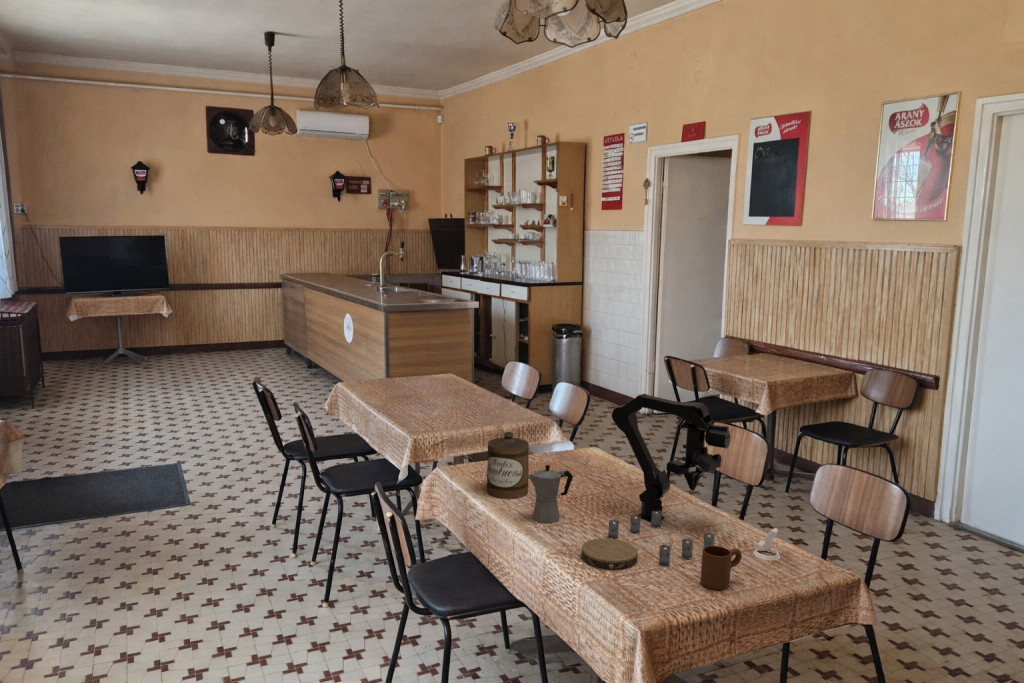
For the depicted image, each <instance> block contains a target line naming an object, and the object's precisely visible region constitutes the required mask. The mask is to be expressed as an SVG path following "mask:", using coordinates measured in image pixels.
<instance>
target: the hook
mask: <svg viewBox="0 0 1024 683" xmlns="http://www.w3.org/2000/svg"><path fill="white" fill-rule="evenodd" d="M778 533H779V530H778V528H777V527H775V528H773V529H770V531H769V532H768V534H767V535H766V536H765V538H764V539H763V540H761V541H759V542H758V543H757V548H755V550H754V551H753V553H752V555H753V554H754V555H755V556H756V557H758V558H761V559H764V560H770V561H771V560H778V559H780V560H781V556H780V553H779V552H778V550H776V549H773V548H772V542H773V540H774V538H776V536H777V534H778ZM761 550H763V551H768V552H767V553H769V552H772V553H774V554H773V555H766V554H762V553H761V552H757V551H761ZM772 553H771V554H772ZM775 554H776V555H775Z"/></svg>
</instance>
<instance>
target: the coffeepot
mask: <svg viewBox="0 0 1024 683" xmlns="http://www.w3.org/2000/svg"><path fill="white" fill-rule="evenodd" d="M544 467H545V469H540V470H536V471H534V472H533V473H532V474H531V473H530V474H529V476H528V478H529V479H530V481H531V482H532V485H533V487H534V491H535V495H536V496H535V502H534V508H533V514H532V520H533V521H534V520H535V521H534V522H536V521H537V522H536V523H539V522H540V524H547V523H548V524H554V523H553V522H555V523H557V522H559V521H560V511H559V505H558V504H559V503H558V499H557V498H558V497H557V496H558V494H559V488H560V483H561V478H562V479H563V478H565V477H567V479H566V481H565V482H566V483H565V486H564V489H563V492H560V494H559V495H560V496H562V497H563V496H567V495H568V493H569V490H570V486H571V483H572V480H573V474H572V473H571V472H570V471H569V470H559V471H556V470H554V469H553V470H551V469H550V468H551V465H549V464H546V465H545V466H544ZM556 521H557V522H556Z"/></svg>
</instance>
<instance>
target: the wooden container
mask: <svg viewBox="0 0 1024 683" xmlns="http://www.w3.org/2000/svg"><path fill="white" fill-rule="evenodd" d="M529 446H530V445H529V442H528V441H527V440H525V439H523V438H517V437H514V433H512V432H511V431H506V432H504V434H503V437H498V438H497V437H496V438H493V439H490V440H489V441H488V442H487V466H486V468H487V472H486V492H488V493H489V494H488V493H487V494H488V495H489V496H491V495H492V497H494V496H495V497H494V498H498V497H499V498H498V499H505V498H512V499H519V498H522V497H525V496H527V495H528V493H529V478H528V476H529V475H530V474H529V472H530V471H529V468H530V467H529V466H530V465H529V459H530V458H529V457H530V454H529V451H530V450H529Z"/></svg>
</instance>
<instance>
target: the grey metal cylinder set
mask: <svg viewBox="0 0 1024 683" xmlns="http://www.w3.org/2000/svg"><path fill="white" fill-rule="evenodd" d="M641 519H642V518H641V516H639V515H638V514H631V515H630V527H629V528H630V529H629V532H630V533H631V532H632V533H631V534H640V533H639V532H641ZM650 523H651V524H650V526H651V527H652V528H654V527H655V528H654V529H658V528H657V527H660V528H661V526H662V524H661V523H662V519H661V511H660V510H656V509H655V510H652V519H651V522H650ZM619 526H620V522H619V520H616V519H610V520H608V535H607V537H608V538H612V539H616V538H617V539H619ZM681 542H682V543H681V556H682V557H683V558H686V559H685V560H690V559H689V558H692V559H693V546H694V545H693V544H694V540H693V539H691V538H683V539H682V541H681ZM702 544H703V546H702V549H703V548H704V547H706V546H715V534H714V533H711V532H705V533H703V543H702ZM671 548H672V547H671V546H670V545H667V544H661V545H659V552H658V554H659V556H658V564H659V566H661V567H669V566H670V561H671ZM682 557H681V558H682ZM683 558H682V559H683ZM668 565H669V566H668Z"/></svg>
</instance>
